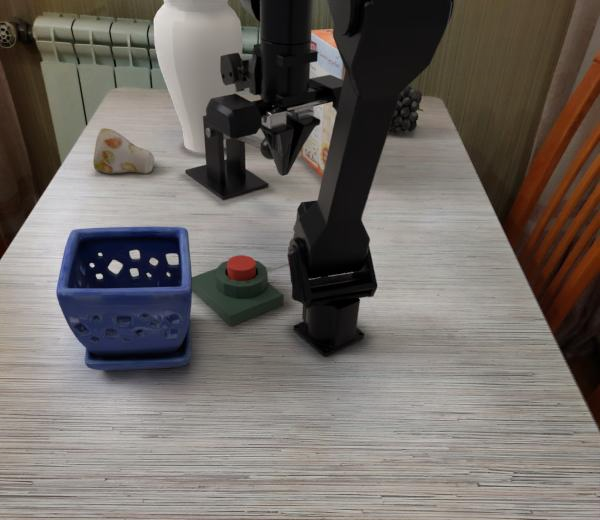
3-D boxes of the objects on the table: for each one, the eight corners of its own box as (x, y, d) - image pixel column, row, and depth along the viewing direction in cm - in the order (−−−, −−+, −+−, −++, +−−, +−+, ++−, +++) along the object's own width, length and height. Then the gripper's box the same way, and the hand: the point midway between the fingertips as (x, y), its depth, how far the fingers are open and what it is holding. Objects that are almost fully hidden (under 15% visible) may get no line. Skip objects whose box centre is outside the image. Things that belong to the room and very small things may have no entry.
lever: (286, 159, 89) (285, 136, 87) (269, 164, 87) (267, 141, 85) (228, 135, 99) (226, 114, 97) (212, 139, 97) (209, 118, 95)
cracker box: (362, 186, 104) (378, 50, 89) (330, 191, 102) (341, 53, 87) (330, 154, 113) (339, 26, 98) (300, 158, 111) (305, 28, 97)
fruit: (348, 82, 115) (428, 85, 114) (348, 84, 122) (422, 87, 122) (345, 132, 119) (422, 135, 118) (345, 131, 126) (417, 134, 126)
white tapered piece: (157, 183, 102) (118, 134, 94) (113, 200, 106) (72, 155, 98) (166, 155, 106) (129, 106, 98) (123, 173, 110) (84, 127, 102)
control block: (284, 304, 78) (285, 281, 76) (231, 327, 74) (229, 303, 72) (242, 270, 83) (241, 247, 81) (189, 288, 80) (187, 265, 77)
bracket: (268, 190, 101) (268, 123, 94) (223, 203, 97) (219, 135, 90) (229, 164, 108) (227, 101, 100) (185, 176, 104) (179, 110, 96)
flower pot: (198, 308, 77) (189, 222, 68) (200, 378, 67) (191, 288, 59) (90, 314, 75) (68, 226, 67) (77, 386, 66) (50, 294, 57)
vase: (153, 140, 114) (129, -49, 94) (222, 127, 120) (213, -53, 100) (187, 169, 106) (168, -31, 85) (259, 153, 112) (258, -38, 92)
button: (261, 276, 77) (261, 264, 76) (237, 285, 75) (237, 273, 74) (245, 264, 79) (245, 252, 78) (222, 272, 77) (221, 260, 76)
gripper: (307, 13, 76) (302, 139, 87) (176, 31, 67) (188, 168, 78) (366, 34, 70) (352, 166, 81) (229, 56, 61) (235, 201, 72)
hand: (282, 174), depth 78 cm, fingers closed
